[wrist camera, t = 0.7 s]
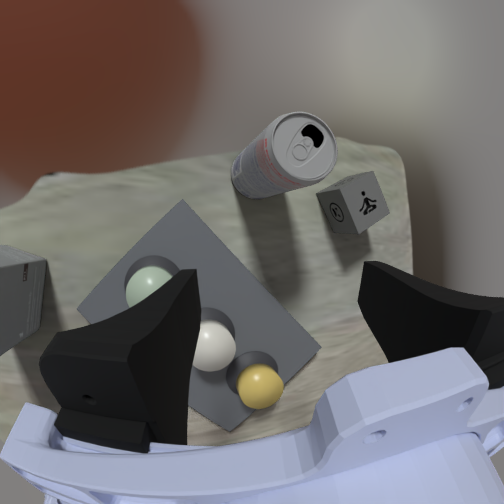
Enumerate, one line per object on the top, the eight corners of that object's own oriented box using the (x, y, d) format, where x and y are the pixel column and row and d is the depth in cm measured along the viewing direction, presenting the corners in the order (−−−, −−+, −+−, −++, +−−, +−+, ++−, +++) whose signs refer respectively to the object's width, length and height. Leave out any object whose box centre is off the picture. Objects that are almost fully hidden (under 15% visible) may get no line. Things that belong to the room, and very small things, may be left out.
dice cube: (333, 232, 33) (358, 234, 28) (315, 193, 32) (339, 188, 27) (363, 213, 34) (389, 213, 29) (347, 176, 33) (373, 170, 28)
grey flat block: (226, 422, 31) (229, 432, 29) (82, 303, 26) (76, 309, 24) (313, 341, 33) (322, 347, 31) (181, 200, 28) (182, 198, 26)
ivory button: (208, 370, 26) (211, 379, 24) (175, 342, 25) (175, 350, 23) (240, 340, 27) (245, 348, 25) (208, 310, 26) (211, 316, 24)
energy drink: (288, 172, 30) (352, 146, 19) (259, 210, 30) (313, 201, 18) (251, 140, 29) (298, 94, 17) (219, 176, 28) (251, 145, 17)
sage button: (154, 323, 24) (153, 331, 23) (119, 289, 23) (115, 294, 21) (188, 290, 25) (189, 295, 23) (153, 254, 24) (151, 257, 22)
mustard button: (255, 405, 28) (260, 415, 26) (227, 384, 27) (231, 394, 25) (284, 378, 29) (292, 387, 27) (258, 355, 27) (264, 364, 26)
